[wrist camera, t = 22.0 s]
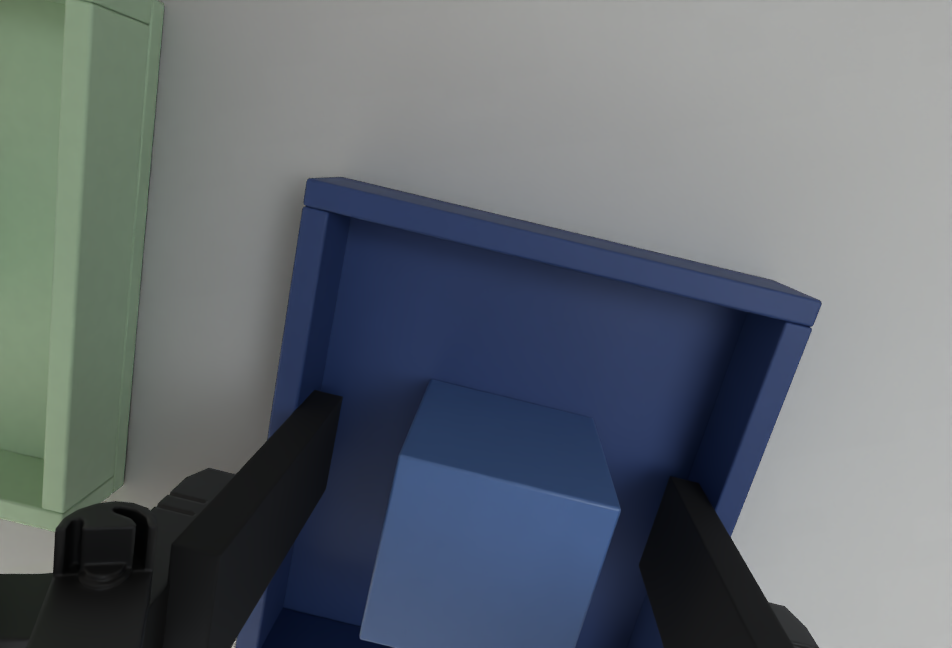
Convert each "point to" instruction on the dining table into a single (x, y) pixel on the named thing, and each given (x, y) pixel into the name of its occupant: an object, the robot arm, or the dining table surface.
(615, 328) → the blue tray
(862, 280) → the dining table surface
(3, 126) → the pale tray
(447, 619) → the blue block
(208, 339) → the dining table surface
